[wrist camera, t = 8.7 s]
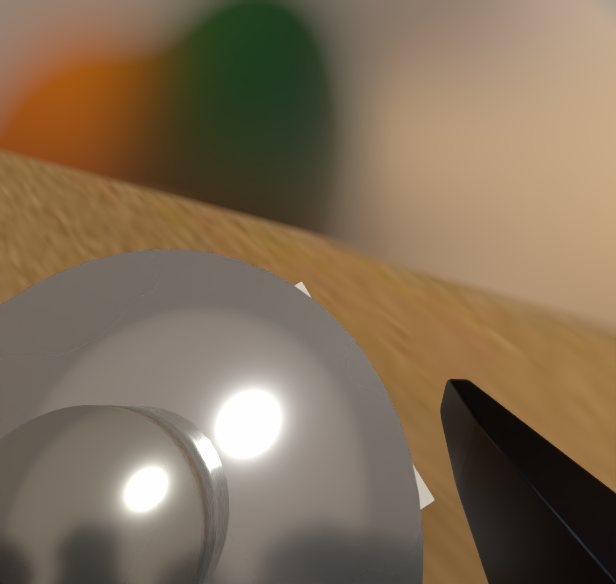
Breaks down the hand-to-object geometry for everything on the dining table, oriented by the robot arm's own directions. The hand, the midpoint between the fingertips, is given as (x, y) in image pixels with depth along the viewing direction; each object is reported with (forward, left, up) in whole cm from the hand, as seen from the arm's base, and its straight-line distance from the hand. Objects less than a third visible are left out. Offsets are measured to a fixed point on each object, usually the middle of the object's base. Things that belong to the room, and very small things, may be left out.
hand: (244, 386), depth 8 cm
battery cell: (-1, +1, -8) cm, 8 cm away
